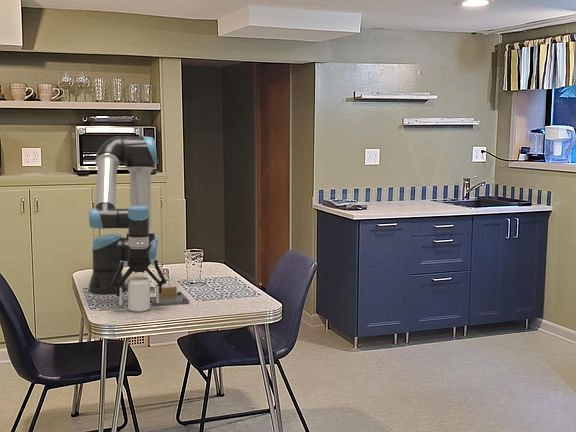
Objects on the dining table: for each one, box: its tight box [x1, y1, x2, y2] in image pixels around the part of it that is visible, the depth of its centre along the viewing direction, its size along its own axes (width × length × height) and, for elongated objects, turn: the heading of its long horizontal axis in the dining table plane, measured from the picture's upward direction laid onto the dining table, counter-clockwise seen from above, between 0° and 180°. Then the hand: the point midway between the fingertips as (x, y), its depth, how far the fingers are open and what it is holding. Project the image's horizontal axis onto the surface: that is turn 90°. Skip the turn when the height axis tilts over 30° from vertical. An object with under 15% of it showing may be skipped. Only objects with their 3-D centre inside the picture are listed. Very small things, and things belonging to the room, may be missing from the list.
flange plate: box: [150, 286, 190, 307], centre depth 279 cm, size 14×14×4 cm
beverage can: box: [127, 276, 151, 313], centre depth 264 cm, size 8×8×12 cm
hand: (139, 303), depth 264 cm, fingers open, 13 cm apart
